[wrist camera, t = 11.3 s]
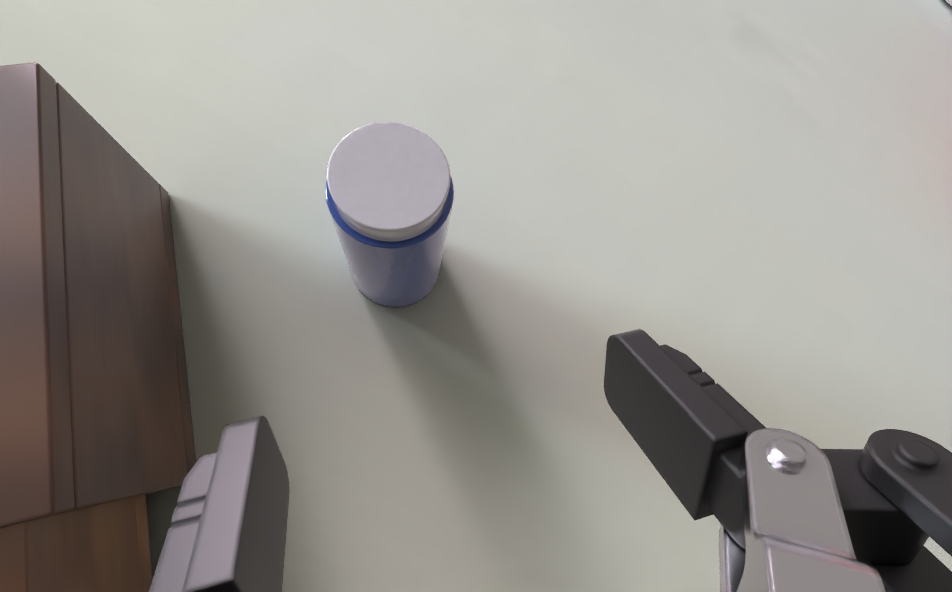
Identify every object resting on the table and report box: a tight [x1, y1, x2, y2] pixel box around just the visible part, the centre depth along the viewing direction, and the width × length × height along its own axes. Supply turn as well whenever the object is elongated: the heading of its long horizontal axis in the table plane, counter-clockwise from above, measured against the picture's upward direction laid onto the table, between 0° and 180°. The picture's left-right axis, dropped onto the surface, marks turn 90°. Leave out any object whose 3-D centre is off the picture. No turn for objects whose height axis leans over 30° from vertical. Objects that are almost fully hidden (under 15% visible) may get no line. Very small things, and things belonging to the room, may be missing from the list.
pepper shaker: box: [325, 122, 454, 307], centre depth 20 cm, size 4×4×9 cm
